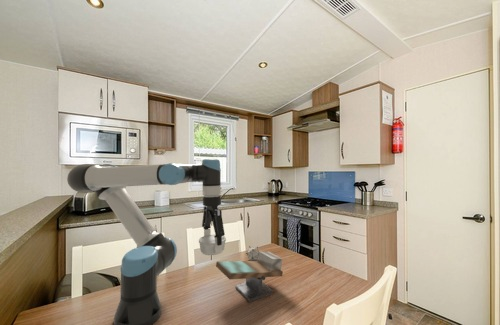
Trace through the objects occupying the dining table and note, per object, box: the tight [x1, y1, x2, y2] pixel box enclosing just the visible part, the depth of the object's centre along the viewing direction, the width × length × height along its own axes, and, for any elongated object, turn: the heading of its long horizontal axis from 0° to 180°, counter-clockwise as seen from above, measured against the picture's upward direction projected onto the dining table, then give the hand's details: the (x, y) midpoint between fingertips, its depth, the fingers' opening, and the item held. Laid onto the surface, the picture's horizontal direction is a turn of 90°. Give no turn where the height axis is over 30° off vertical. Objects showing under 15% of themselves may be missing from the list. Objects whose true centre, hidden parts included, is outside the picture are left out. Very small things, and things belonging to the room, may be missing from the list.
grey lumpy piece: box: [245, 245, 259, 261], centre depth 126 cm, size 9×8×10 cm
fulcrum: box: [235, 278, 274, 303], centre depth 95 cm, size 12×12×7 cm
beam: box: [215, 250, 284, 281], centre depth 94 cm, size 27×15×8 cm, turn 123°
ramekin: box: [198, 234, 227, 256], centre depth 89 cm, size 11×11×5 cm
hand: (212, 248), depth 89 cm, fingers closed on ramekin, 11 cm apart
